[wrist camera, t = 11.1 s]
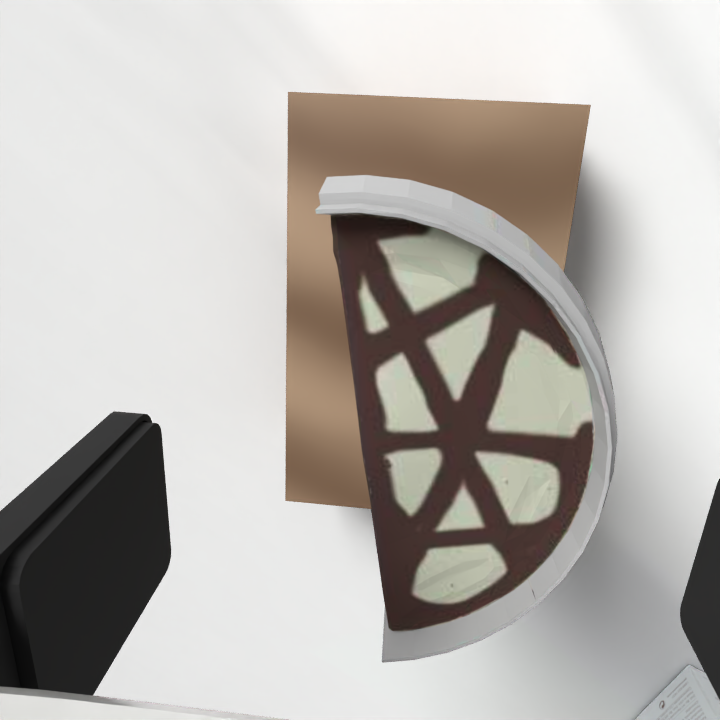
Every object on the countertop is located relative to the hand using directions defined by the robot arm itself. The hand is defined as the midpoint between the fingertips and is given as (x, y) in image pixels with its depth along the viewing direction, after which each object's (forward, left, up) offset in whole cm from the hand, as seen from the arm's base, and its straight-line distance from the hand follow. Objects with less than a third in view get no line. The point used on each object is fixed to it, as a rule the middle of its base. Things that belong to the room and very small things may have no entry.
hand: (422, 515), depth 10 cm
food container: (0, +2, -13) cm, 13 cm away
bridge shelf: (+1, 0, -19) cm, 19 cm away
